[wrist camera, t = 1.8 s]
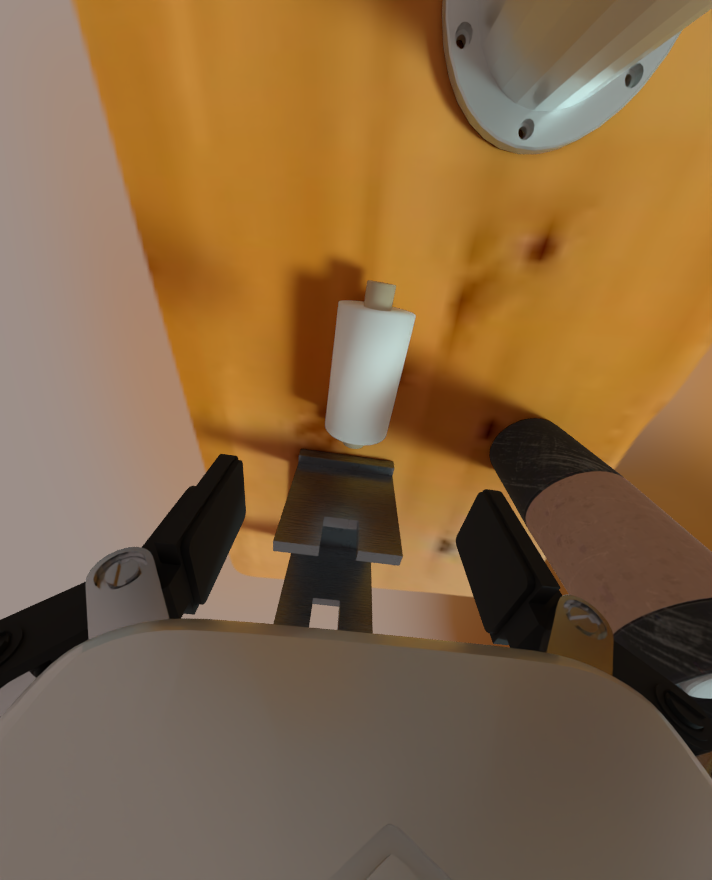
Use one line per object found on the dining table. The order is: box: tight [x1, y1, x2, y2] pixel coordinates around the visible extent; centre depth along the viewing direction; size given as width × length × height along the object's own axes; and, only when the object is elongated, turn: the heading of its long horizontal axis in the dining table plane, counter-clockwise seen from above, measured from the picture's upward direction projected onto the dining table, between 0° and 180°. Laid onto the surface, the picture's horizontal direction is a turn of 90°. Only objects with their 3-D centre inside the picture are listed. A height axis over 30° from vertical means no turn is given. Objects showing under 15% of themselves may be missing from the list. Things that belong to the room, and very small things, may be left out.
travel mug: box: [490, 418, 712, 722], centre depth 21 cm, size 8×8×20 cm
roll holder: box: [273, 449, 403, 634], centre depth 30 cm, size 16×10×11 cm, turn 171°
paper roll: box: [325, 280, 416, 449], centre depth 23 cm, size 13×6×6 cm, turn 171°
